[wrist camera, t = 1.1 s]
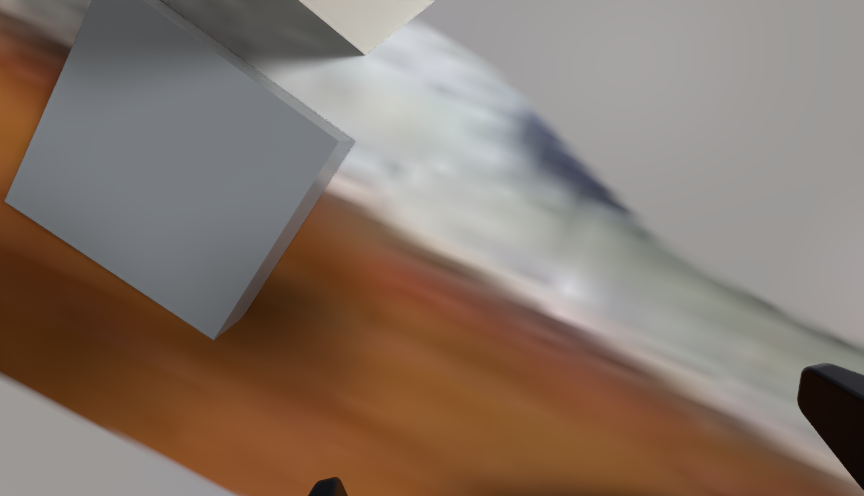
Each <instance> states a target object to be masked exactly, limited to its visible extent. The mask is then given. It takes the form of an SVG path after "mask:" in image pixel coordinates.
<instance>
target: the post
mask: <svg viewBox="0 0 864 496" xmlns="http://www.w3.org/2000/svg"><path fill="white" fill-rule="evenodd" d="M299 1H300V2H301V3H303V4H304V5H305V6H306V7H307V8H309V9H310V10H311V11H312V12H314V13H315V14H316V15H317V16H318V17H320V18H321V19H322V20H323V21H325V22H326V23H327V24H328V25H329V26H331V27H332V28H333V29H334V30H335V31H337V32H338V33H339V34H340V35H342V36H343V37H344V38H345V39H346V40H348V41H349V42H350V43H351V44H352V45H354V46H355V47H356V48H357V49H359V50H360V51H361V52H362V53H363V54H365V55H367V54H368V53H369V52H370V51H372V50H373V49H374V48H376V47H377V46H378V45H379V44H381V43H382V42H383V41H384V40H386V39H387V38H388V37H390V36H391V35H392V34H393V33H395V32H396V31H397V30H399V29H400V28H401V27H402V26H404V25H405V24H406V23H407V22H409V21H410V20H411V19H413V18H414V17H415V16H416V15H418V14H419V13H420V12H421V11H423V10H424V9H425V8H426V7H428V6H429V5H430V4H432V3H433V2H434V1H435V0H299Z"/></svg>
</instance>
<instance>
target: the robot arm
mask: <svg viewBox="0 0 864 496" xmlns="http://www.w3.org/2000/svg"><path fill="white" fill-rule="evenodd" d="M797 401H798V405H799V408H800V410H801V412H802V413H803V415H804V416H805V417H806V418H807V420H808V421H809V422H810V423H811V425H812V426H813V427H814V429H815V430H816V431H817V432H818V434H819V435H820V436H821V437H822V439H823V440H824V441H825V443H826V444H827V445H828V446H829V448H830V449H831V450H832V452H833V453H834V454H835V455H836V457H837V458H838V459H839V460H840V462H841V463H842V464H843V466H844V467H845V468H846V469H847V471H848V472H849V473H850V474H851V476H852V477H853V478H854V479H855V481H856V482H857V483H858V484H859V485H860V487H861V488H862V489H863V490H864V375H862V374H859V373H856V372H853V371H850V370H848V369H845V368H842V367H839V366H836V365H833V364H829V363H822V364H818V365H814V366H809V367H806V368H804V369H803V370H802V373H801V378H800V384H799V390H798V397H797ZM308 496H348V495H347V493H346V491H345V489H344V486H343V484H342V482H341V480H340V479H339V478H338V477H333V478H329V479H324V480H320V481H318V482H317V483H316V484H315V485H314V487H313V488H312V490H311V492H310V493H309V495H308Z"/></svg>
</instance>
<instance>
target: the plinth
mask: <svg viewBox="0 0 864 496" xmlns="http://www.w3.org/2000/svg"><path fill="white" fill-rule="evenodd" d="M354 143H355V140H353V139H352V138H350V137H349V136H348V135H346V134H345V133H343V132H342V131H341V130H339V129H338V128H337V127H335V126H334V125H332V124H331V123H330V122H328V121H327V120H325V119H324V118H323V117H321V116H320V115H319V114H317V113H316V112H314V111H313V110H312V109H310V108H309V107H307V106H306V105H305V104H303V103H302V102H300V101H299V100H298V99H296V98H295V97H294V96H292V95H291V94H289V93H288V92H287V91H285V90H284V89H282V88H281V87H280V86H278V85H277V84H275V83H274V82H273V81H271V80H270V79H269V78H267V77H266V76H264V75H263V74H262V73H260V72H259V71H257V70H256V69H255V68H253V67H252V66H251V65H249V64H248V63H246V62H245V61H244V60H242V59H241V58H239V57H238V56H237V55H235V54H234V53H232V52H231V51H230V50H228V49H227V48H226V47H224V46H223V45H221V44H220V43H219V42H217V41H216V40H214V39H213V38H212V37H210V36H209V35H208V34H206V33H205V32H203V31H202V30H201V29H199V28H198V27H196V26H195V25H194V24H192V23H191V22H189V21H188V20H187V19H185V18H184V17H183V16H181V15H180V14H178V13H177V12H176V11H174V10H173V9H171V8H170V7H169V6H167V5H166V4H164V3H163V2H162V1H160V0H93V1H92V3H91V6H90V8H89V10H88V13H87V15H86V17H85V19H84V22H83V24H82V26H81V28H80V31H79V33H78V35H77V38H76V40H75V42H74V44H73V47H72V49H71V51H70V53H69V56H68V58H67V60H66V63H65V65H64V67H63V69H62V72H61V74H60V76H59V79H58V81H57V83H56V85H55V88H54V90H53V92H52V94H51V97H50V99H49V101H48V104H47V106H46V108H45V110H44V113H43V115H42V117H41V119H40V122H39V124H38V126H37V129H36V131H35V133H34V135H33V138H32V140H31V142H30V144H29V147H28V149H27V151H26V154H25V156H24V158H23V160H22V163H21V165H20V167H19V169H18V172H17V174H16V176H15V179H14V181H13V183H12V185H11V188H10V190H9V192H8V195H7V197H6V199H5V202H6V203H8V204H9V205H11V206H12V207H14V208H15V209H17V210H18V211H20V212H21V213H23V214H24V215H26V216H27V217H29V218H30V219H32V220H33V221H35V222H36V223H38V224H39V225H41V226H42V227H44V228H45V229H47V230H48V231H50V232H51V233H53V234H54V235H56V236H57V237H59V238H60V239H62V240H63V241H65V242H66V243H68V244H69V245H71V246H72V247H74V248H75V249H77V250H78V251H80V252H81V253H83V254H84V255H86V256H88V257H89V258H91V259H92V260H94V261H95V262H97V263H98V264H100V265H101V266H103V267H104V268H106V269H107V270H109V271H110V272H112V273H113V274H115V275H116V276H118V277H119V278H121V279H122V280H124V281H125V282H127V283H128V284H130V285H131V286H133V287H134V288H136V289H137V290H139V291H140V292H142V293H143V294H145V295H146V296H148V297H149V298H151V299H152V300H154V301H155V302H157V303H158V304H160V305H161V306H163V307H164V308H166V309H167V310H169V311H170V312H172V313H173V314H175V315H176V316H178V317H179V318H181V319H182V320H184V321H185V322H187V323H188V324H190V325H191V326H193V327H194V328H196V329H197V330H199V331H200V332H202V333H203V334H205V335H206V336H208V337H209V338H211V339H212V340H215V339H216V338H217V337H218V336H220V335H221V334H222V333H223V332H225V331H226V330H227V329H229V328H230V327H231V326H232V325H234V324H235V323H236V322H238V321H239V320H240V319H241V318H243V316H244V314H245V313H246V311H247V310H248V308H249V307H250V305H251V304H252V302H253V300H254V299H255V297H256V296H257V294H258V293H259V291H260V290H261V288H262V286H263V285H264V283H265V282H266V280H267V279H268V277H269V275H270V274H271V272H272V271H273V269H274V268H275V266H276V265H277V263H278V261H279V260H280V258H281V257H282V255H283V254H284V252H285V250H286V249H287V247H288V246H289V244H290V243H291V241H292V240H293V238H294V236H295V235H296V233H297V232H298V230H299V229H300V227H301V226H302V224H303V222H304V221H305V219H306V218H307V216H308V215H309V213H310V211H311V210H312V208H313V207H314V205H315V204H316V202H317V201H318V199H319V197H320V196H321V194H322V193H323V191H324V190H325V188H326V187H327V185H328V183H329V182H330V180H331V179H332V177H333V176H334V174H335V172H336V171H337V169H338V168H339V166H340V165H341V163H342V162H343V160H344V158H345V157H346V155H347V154H348V152H349V151H350V149H351V147H352V146H353V144H354Z"/></svg>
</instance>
